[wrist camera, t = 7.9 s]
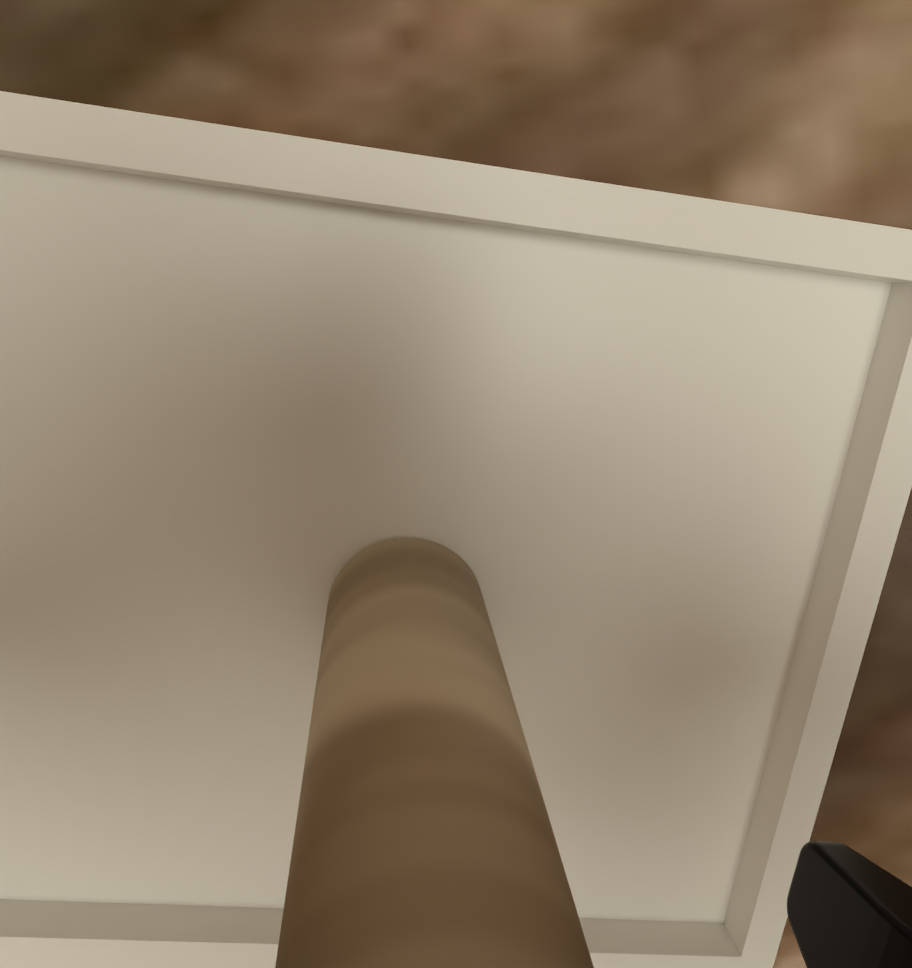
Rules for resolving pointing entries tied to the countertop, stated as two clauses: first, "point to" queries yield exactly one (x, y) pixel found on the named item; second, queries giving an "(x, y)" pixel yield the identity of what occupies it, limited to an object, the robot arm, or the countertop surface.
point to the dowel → (420, 787)
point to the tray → (422, 514)
